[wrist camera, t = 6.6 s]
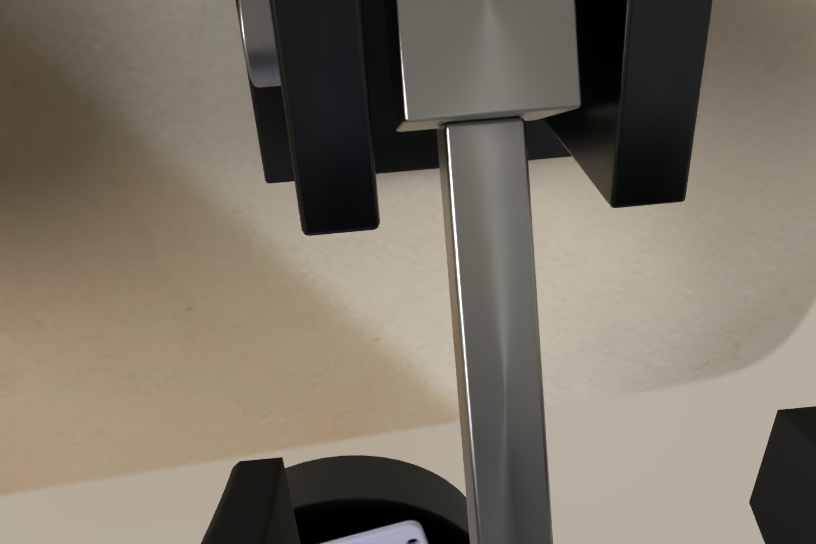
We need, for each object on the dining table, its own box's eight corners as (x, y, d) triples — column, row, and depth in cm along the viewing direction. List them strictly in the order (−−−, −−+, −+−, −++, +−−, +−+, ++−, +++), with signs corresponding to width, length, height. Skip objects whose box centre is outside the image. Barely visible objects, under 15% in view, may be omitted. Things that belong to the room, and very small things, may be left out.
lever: (649, 608, 13) (715, 708, 11) (356, 644, 13) (356, 755, 10) (618, -79, 11) (686, -143, 9) (282, -54, 11) (260, -115, 9)
